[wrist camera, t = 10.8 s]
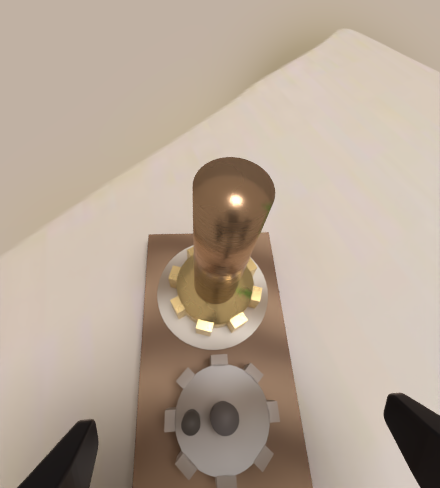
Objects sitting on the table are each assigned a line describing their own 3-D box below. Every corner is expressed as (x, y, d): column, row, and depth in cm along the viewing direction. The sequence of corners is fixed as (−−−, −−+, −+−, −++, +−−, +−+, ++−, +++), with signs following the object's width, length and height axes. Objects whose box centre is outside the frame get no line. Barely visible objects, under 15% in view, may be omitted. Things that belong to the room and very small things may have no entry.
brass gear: (197, 355, 19) (200, 312, 8) (155, 276, 22) (111, 158, 11) (273, 306, 22) (361, 217, 10) (227, 240, 24) (255, 108, 13)
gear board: (307, 502, 17) (356, 554, 12) (134, 524, 16) (105, 591, 11) (264, 240, 26) (282, 203, 21) (151, 242, 25) (139, 204, 20)
